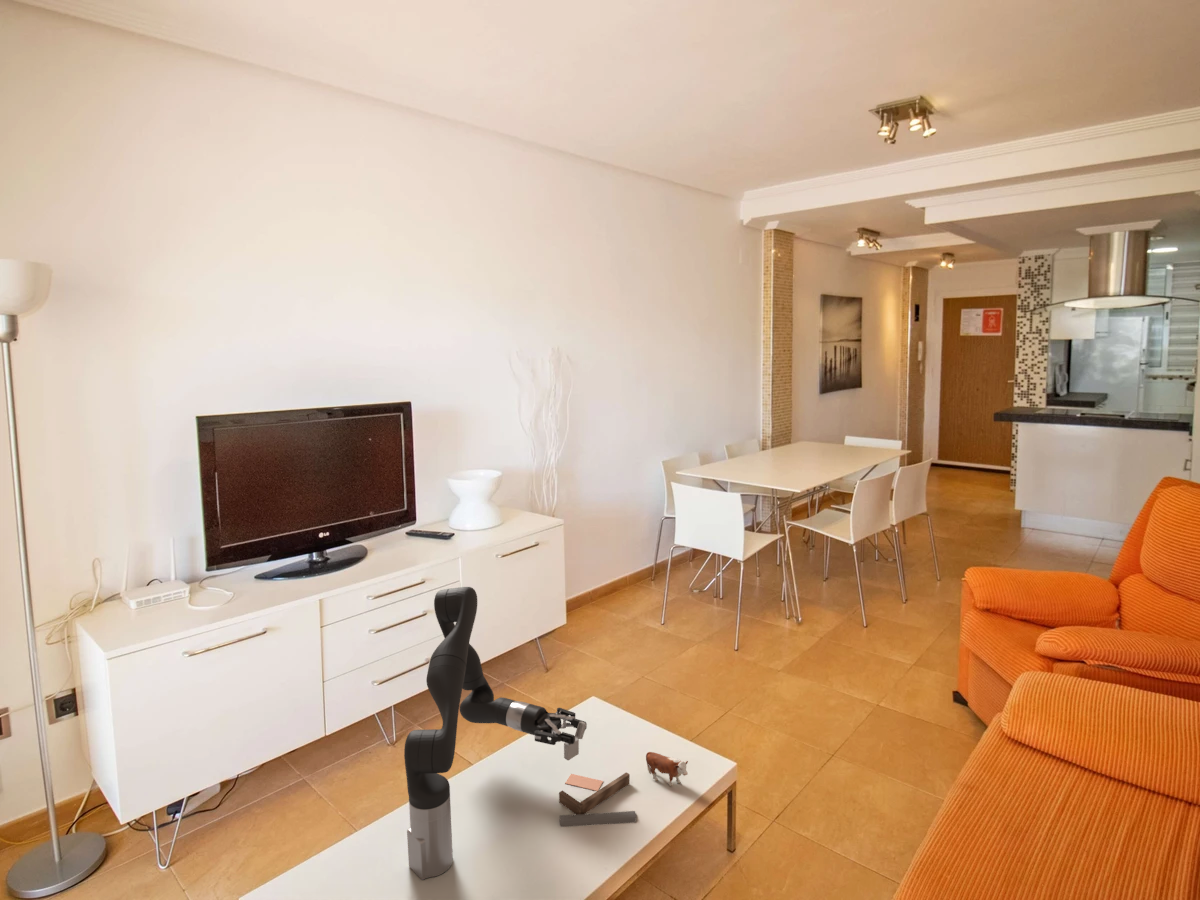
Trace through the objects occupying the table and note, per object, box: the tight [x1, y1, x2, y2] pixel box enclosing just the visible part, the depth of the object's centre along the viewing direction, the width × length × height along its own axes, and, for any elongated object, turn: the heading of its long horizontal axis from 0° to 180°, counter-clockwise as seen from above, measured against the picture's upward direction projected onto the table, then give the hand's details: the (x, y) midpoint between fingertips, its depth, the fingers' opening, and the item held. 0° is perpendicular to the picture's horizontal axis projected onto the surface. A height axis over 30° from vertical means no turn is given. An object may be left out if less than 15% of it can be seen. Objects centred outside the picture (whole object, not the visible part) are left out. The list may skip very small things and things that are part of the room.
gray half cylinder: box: [558, 810, 637, 828], centre depth 176 cm, size 4×20×2 cm, turn 95°
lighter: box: [563, 722, 588, 761], centre depth 185 cm, size 7×2×8 cm, turn 137°
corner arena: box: [558, 772, 630, 815], centre depth 186 cm, size 19×8×3 cm, turn 135°
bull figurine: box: [645, 751, 689, 787], centre depth 191 cm, size 4×13×8 cm, turn 53°
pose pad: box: [565, 773, 604, 792], centre depth 191 cm, size 4×10×1 cm, turn 70°
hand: (580, 733), depth 185 cm, fingers closed on lighter, 6 cm apart
